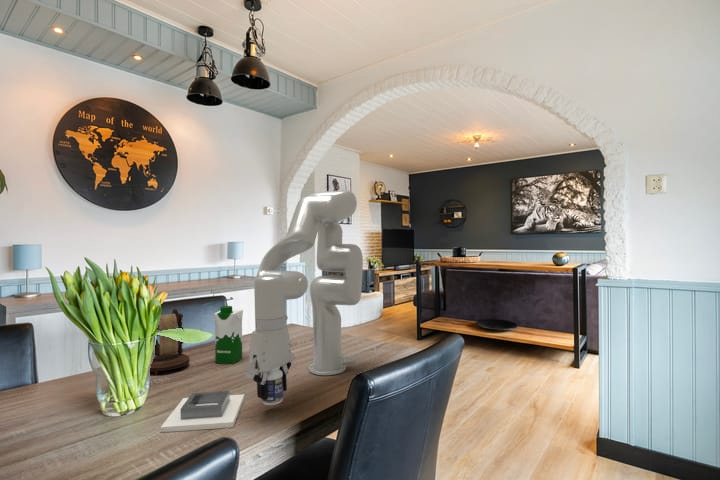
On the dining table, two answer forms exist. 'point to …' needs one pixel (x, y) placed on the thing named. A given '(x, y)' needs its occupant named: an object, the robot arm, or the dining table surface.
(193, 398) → the socket collar
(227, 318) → the milk carton
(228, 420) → the socket board
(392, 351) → the dining table surface
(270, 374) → the pill bottle
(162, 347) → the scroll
